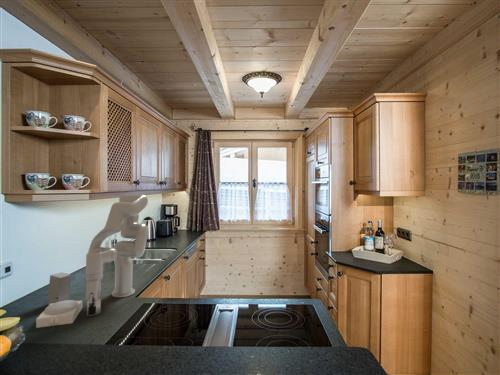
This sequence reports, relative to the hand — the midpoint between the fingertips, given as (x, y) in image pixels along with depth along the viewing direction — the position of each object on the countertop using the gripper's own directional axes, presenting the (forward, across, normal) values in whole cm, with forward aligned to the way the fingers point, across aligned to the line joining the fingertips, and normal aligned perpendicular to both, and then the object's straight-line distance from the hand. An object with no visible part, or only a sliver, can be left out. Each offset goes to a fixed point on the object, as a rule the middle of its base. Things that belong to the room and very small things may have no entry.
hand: (93, 310), depth 131 cm
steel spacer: (+1, 0, 0) cm, 1 cm away
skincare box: (+1, -17, -20) cm, 26 cm away
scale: (+1, 0, -14) cm, 14 cm away
